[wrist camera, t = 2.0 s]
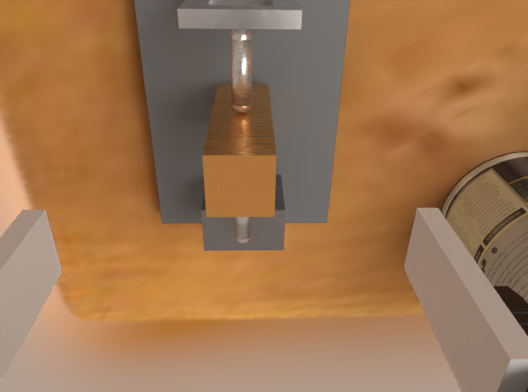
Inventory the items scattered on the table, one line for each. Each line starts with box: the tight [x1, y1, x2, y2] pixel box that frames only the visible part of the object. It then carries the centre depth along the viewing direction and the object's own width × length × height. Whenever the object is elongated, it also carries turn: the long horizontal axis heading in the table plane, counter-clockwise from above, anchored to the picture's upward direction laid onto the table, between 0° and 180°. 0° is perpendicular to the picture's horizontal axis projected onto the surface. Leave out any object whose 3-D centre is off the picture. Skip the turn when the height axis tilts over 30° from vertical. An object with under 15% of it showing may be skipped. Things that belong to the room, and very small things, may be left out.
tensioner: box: [201, 175, 285, 251], centre depth 29 cm, size 3×5×4 cm, turn 89°
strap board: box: [134, 0, 350, 223], centre depth 27 cm, size 26×12×2 cm, turn 179°
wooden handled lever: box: [177, 0, 302, 243], centre depth 23 cm, size 13×5×10 cm, turn 179°
